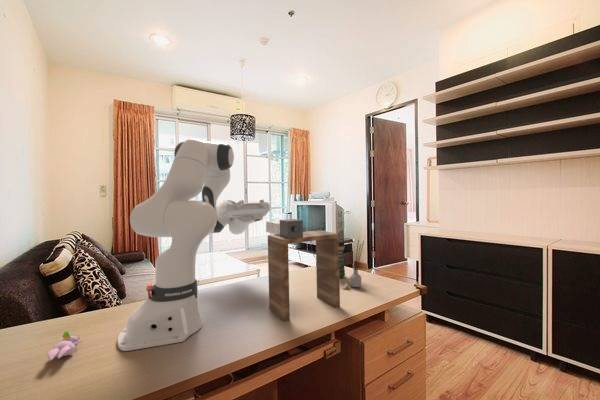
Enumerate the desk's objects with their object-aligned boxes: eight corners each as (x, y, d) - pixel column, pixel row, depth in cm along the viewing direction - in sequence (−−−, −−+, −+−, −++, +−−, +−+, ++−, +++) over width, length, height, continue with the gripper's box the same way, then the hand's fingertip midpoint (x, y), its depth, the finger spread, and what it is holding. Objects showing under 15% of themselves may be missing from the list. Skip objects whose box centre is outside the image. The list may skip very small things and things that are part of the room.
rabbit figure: (58, 349, 79) (37, 370, 66) (59, 327, 80) (37, 343, 66) (86, 344, 82) (71, 362, 68) (86, 322, 83) (71, 336, 69)
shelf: (284, 321, 91) (282, 239, 90) (269, 308, 101) (267, 235, 101) (339, 306, 101) (338, 233, 101) (321, 296, 112) (320, 230, 111)
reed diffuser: (360, 283, 127) (359, 238, 126) (371, 288, 120) (370, 240, 120) (341, 287, 122) (340, 240, 121) (351, 292, 116) (350, 243, 115)
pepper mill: (289, 239, 91) (289, 221, 90) (264, 232, 109) (264, 217, 109) (304, 237, 93) (304, 220, 93) (277, 230, 112) (277, 216, 112)
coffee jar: (329, 280, 132) (329, 240, 132) (322, 275, 140) (321, 238, 139) (347, 277, 136) (347, 238, 136) (339, 273, 143) (338, 236, 143)
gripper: (221, 210, 132) (227, 195, 121) (262, 208, 142) (272, 194, 131) (223, 222, 129) (230, 208, 119) (265, 219, 140) (275, 206, 129)
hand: (252, 201), depth 125 cm, fingers open, 8 cm apart
